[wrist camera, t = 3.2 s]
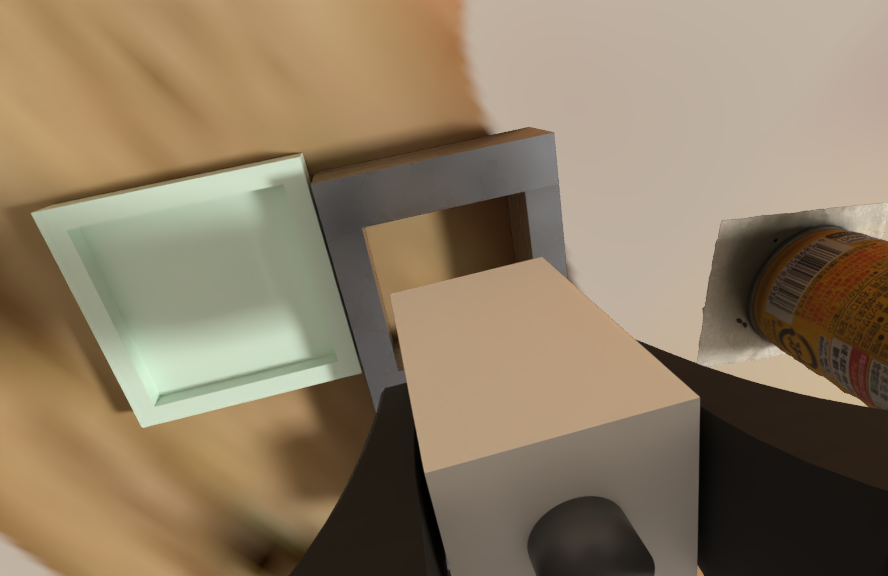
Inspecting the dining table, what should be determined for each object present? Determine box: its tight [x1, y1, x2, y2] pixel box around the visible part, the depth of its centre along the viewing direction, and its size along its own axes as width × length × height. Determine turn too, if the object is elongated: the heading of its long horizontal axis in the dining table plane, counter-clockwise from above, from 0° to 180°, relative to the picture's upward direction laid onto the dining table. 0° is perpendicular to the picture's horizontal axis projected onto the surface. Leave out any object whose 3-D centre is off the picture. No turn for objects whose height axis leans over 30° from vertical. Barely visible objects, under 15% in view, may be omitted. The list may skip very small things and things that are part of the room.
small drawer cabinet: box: [311, 127, 568, 570], centre depth 20 cm, size 18×8×3 cm, turn 10°
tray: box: [31, 153, 362, 428], centre depth 18 cm, size 8×8×1 cm
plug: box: [390, 257, 700, 576], centre depth 10 cm, size 4×4×7 cm
